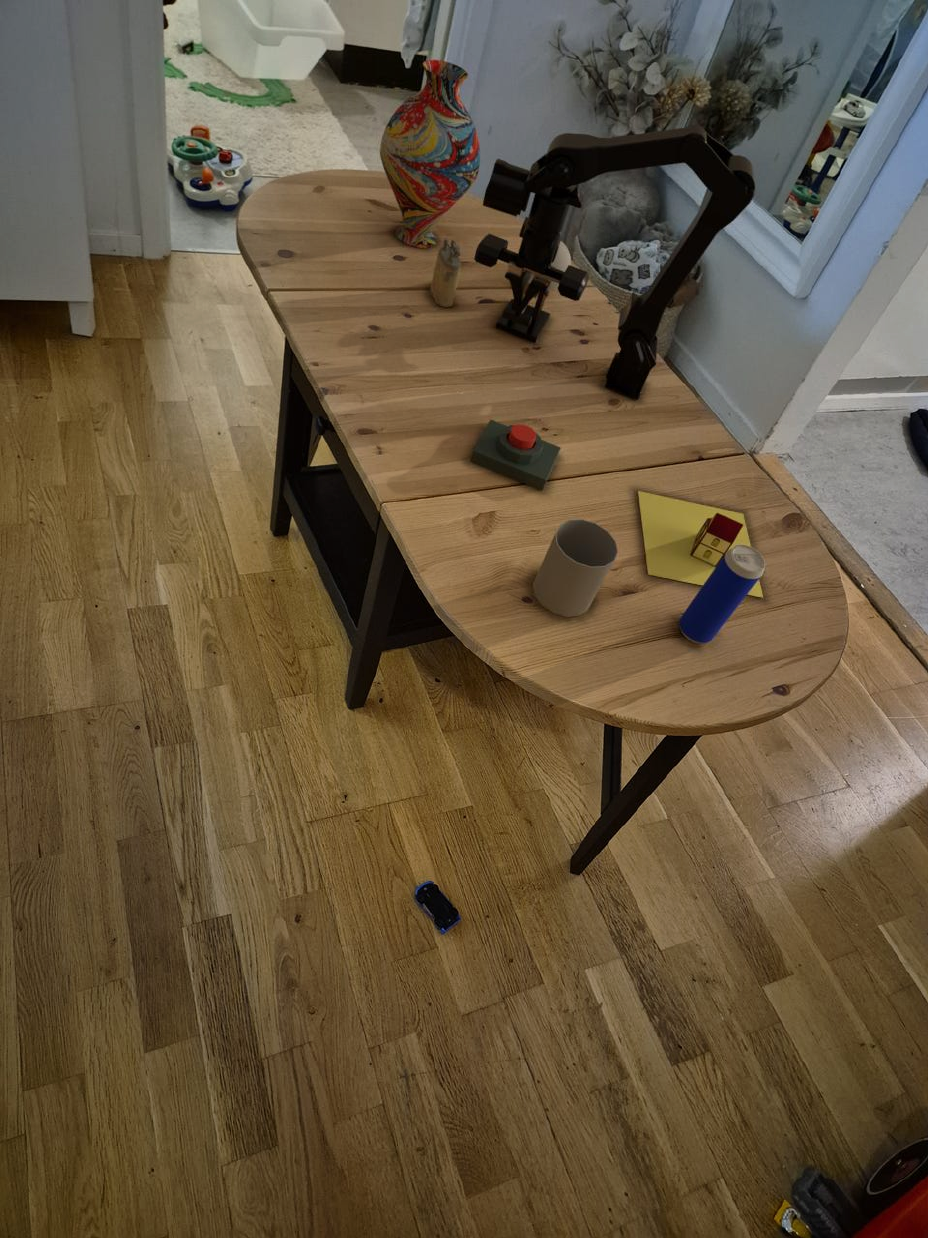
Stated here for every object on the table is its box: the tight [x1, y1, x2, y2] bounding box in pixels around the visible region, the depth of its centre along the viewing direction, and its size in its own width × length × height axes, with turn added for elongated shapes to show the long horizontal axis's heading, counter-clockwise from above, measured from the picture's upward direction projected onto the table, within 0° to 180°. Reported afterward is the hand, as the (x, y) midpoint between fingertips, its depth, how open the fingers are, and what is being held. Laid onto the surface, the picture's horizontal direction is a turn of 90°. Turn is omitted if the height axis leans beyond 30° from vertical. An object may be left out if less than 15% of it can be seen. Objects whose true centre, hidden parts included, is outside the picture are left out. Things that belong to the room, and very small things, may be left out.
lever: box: [501, 275, 539, 327], centre depth 142 cm, size 12×5×2 cm, turn 161°
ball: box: [529, 240, 572, 292], centre depth 156 cm, size 10×10×10 cm
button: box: [508, 424, 537, 450], centre depth 121 cm, size 4×4×2 cm
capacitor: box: [429, 237, 462, 308], centre depth 146 cm, size 7×4×10 cm, turn 16°
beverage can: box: [678, 545, 766, 644], centre depth 104 cm, size 5×5×15 cm
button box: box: [469, 419, 562, 492], centre depth 123 cm, size 12×9×4 cm
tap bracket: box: [494, 272, 551, 344], centre depth 147 cm, size 10×8×9 cm
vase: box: [379, 59, 481, 249], centre depth 150 cm, size 19×19×30 cm
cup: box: [532, 518, 619, 618], centre depth 105 cm, size 8×8×10 cm
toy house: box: [690, 512, 744, 567], centre depth 118 cm, size 6×7×8 cm
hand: (518, 313), depth 138 cm, fingers closed, pressing on lever
